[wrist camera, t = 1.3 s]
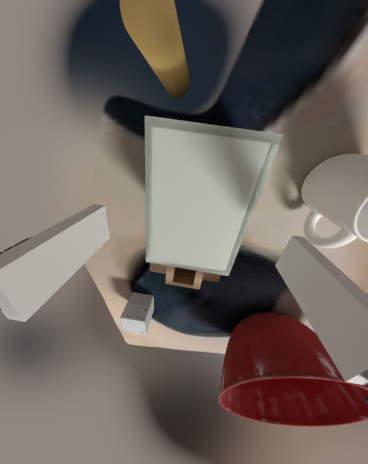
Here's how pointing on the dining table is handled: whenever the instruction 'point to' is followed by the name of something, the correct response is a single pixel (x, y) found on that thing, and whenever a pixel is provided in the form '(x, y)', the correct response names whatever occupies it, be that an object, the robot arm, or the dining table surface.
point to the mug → (338, 199)
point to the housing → (201, 190)
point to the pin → (158, 40)
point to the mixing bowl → (286, 376)
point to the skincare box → (137, 313)
